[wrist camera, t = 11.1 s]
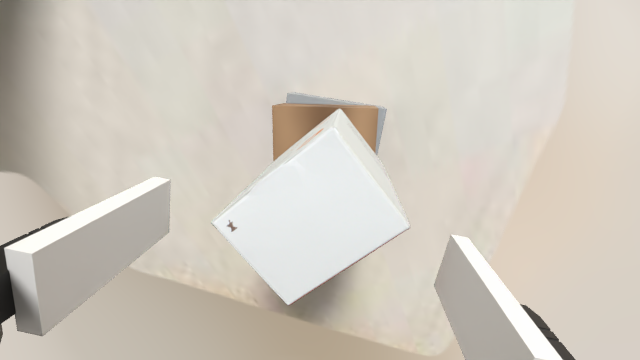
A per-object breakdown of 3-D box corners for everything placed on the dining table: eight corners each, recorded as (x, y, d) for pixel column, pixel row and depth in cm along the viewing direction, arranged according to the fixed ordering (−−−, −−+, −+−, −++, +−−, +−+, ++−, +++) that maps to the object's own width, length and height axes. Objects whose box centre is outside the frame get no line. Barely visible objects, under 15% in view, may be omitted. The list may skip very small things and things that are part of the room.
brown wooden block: (285, 188, 34) (274, 204, 29) (284, 103, 31) (272, 105, 27) (368, 192, 33) (371, 209, 28) (374, 105, 31) (378, 108, 26)
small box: (314, 215, 29) (285, 310, 17) (270, 163, 28) (205, 222, 16) (385, 164, 27) (414, 228, 15) (341, 105, 26) (331, 121, 14)
